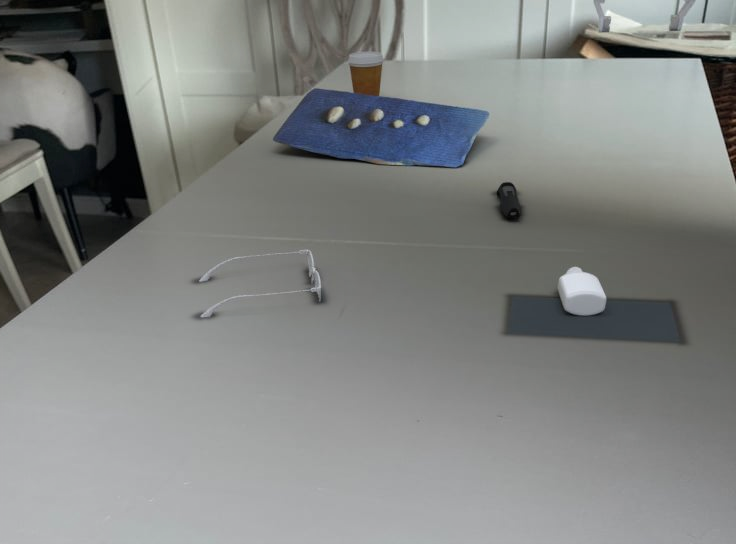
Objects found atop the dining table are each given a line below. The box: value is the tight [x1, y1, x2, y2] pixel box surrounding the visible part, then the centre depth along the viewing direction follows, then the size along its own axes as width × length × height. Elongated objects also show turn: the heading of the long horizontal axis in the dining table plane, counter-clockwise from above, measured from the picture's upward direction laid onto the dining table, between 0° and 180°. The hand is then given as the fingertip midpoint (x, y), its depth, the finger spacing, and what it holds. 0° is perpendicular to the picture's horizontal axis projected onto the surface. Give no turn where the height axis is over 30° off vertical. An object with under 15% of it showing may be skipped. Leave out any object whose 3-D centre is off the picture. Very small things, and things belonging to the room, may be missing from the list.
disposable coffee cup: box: [347, 51, 385, 96], centre depth 214 cm, size 10×10×12 cm
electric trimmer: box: [496, 181, 521, 219], centre depth 148 cm, size 4×16×3 cm, turn 176°
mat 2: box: [508, 296, 681, 343], centre depth 111 cm, size 22×12×1 cm, turn 79°
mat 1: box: [272, 87, 490, 168], centre depth 185 cm, size 45×27×12 cm, turn 69°
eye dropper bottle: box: [557, 266, 608, 316], centre depth 115 cm, size 4×6×12 cm
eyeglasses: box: [198, 249, 322, 318], centre depth 122 cm, size 15×18×4 cm
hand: (638, 31), depth 111 cm, fingers open, 8 cm apart
